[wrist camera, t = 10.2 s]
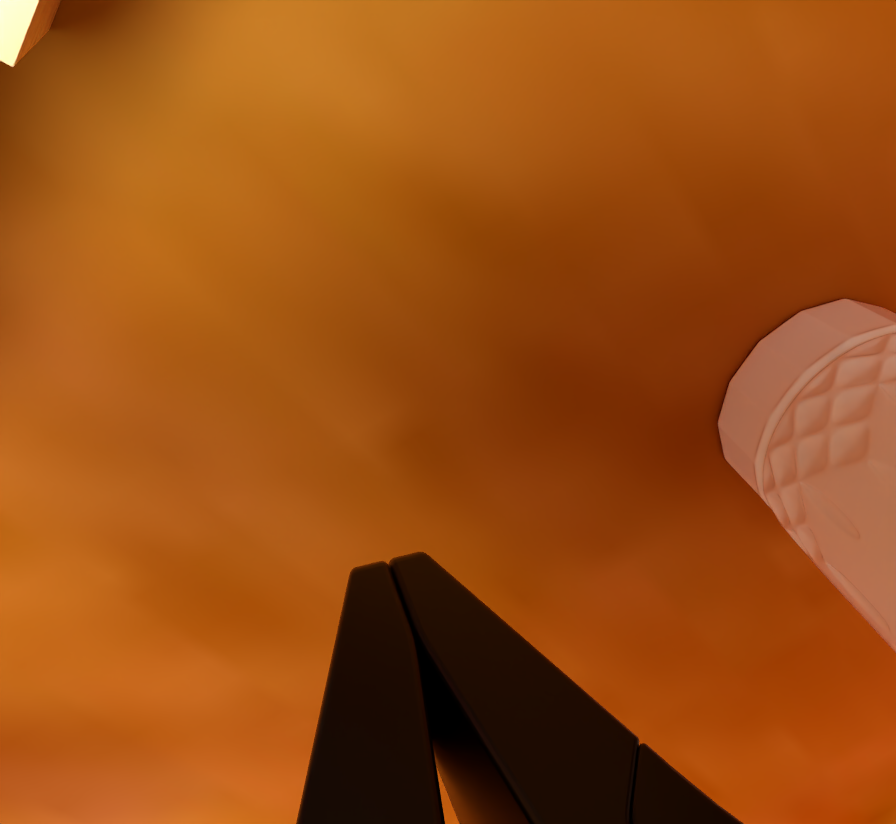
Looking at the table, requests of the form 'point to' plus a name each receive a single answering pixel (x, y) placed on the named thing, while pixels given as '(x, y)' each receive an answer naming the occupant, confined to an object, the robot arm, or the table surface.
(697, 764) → the table surface
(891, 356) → the white cup
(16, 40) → the valve
